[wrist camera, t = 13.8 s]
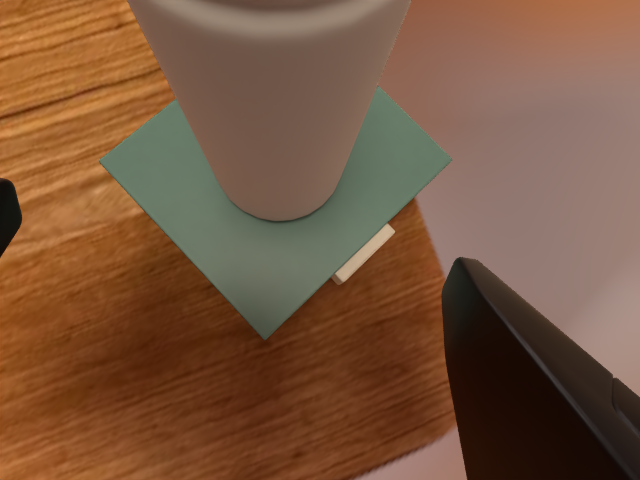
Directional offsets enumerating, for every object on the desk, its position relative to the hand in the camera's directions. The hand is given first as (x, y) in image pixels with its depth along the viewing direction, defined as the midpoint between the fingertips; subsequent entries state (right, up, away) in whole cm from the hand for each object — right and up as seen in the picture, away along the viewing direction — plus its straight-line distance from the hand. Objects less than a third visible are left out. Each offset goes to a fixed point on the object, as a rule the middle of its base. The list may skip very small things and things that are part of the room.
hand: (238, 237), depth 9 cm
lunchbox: (0, +2, +13) cm, 13 cm away
